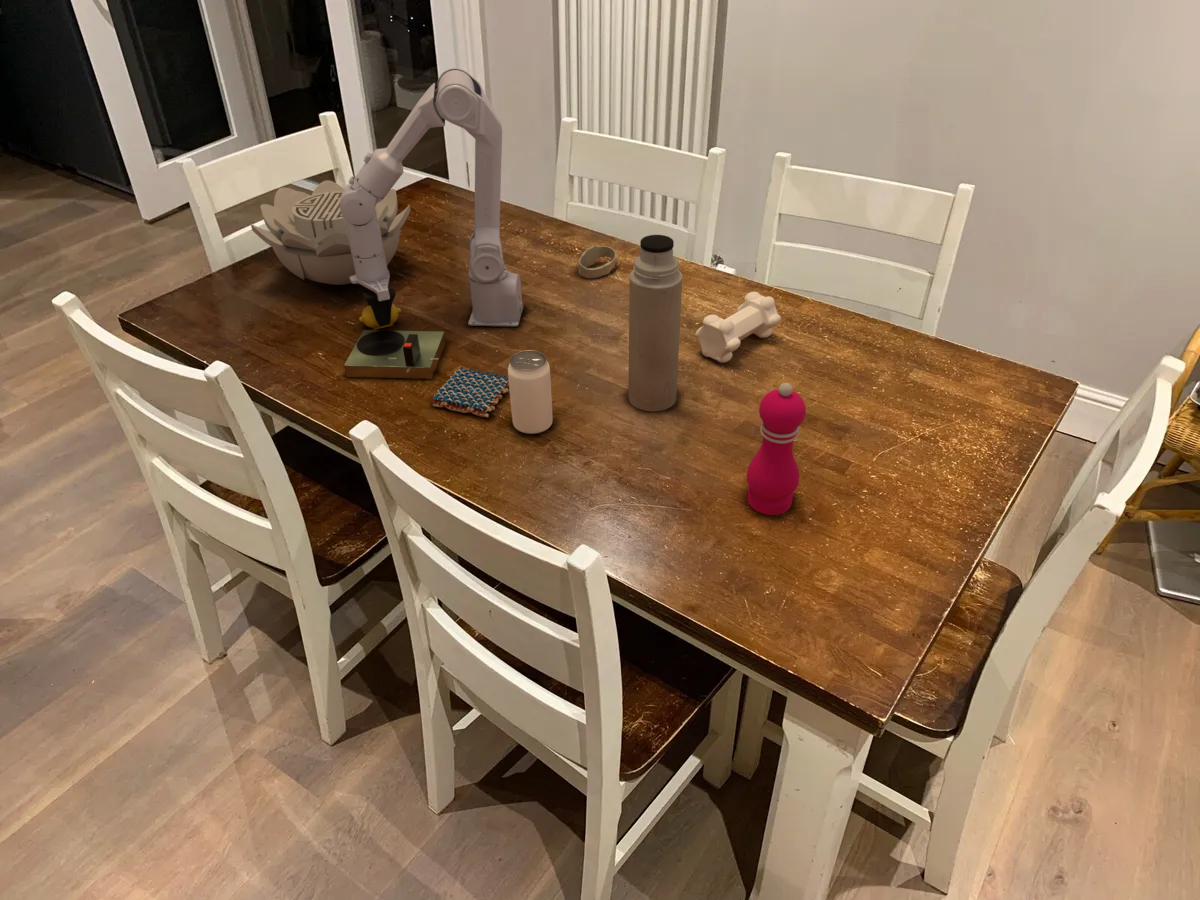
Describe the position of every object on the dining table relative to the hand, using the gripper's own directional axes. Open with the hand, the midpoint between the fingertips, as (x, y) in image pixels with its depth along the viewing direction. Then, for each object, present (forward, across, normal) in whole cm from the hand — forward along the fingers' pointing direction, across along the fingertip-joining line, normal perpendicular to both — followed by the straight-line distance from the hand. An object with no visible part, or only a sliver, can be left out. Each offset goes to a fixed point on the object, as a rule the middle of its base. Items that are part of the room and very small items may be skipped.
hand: (380, 318), depth 162 cm
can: (+2, +42, +13) cm, 44 cm away
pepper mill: (+2, +75, +36) cm, 83 cm away
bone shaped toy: (+2, +38, +55) cm, 67 cm away
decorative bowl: (+2, -24, 0) cm, 24 cm away
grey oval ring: (+2, -1, +46) cm, 46 cm away
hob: (+1, +14, -1) cm, 15 cm away
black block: (-1, +18, +1) cm, 18 cm away
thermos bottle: (+2, +45, +34) cm, 56 cm away
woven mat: (+2, +31, +7) cm, 32 cm away
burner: (-1, +11, -3) cm, 11 cm away
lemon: (+1, 0, 0) cm, 1 cm away
